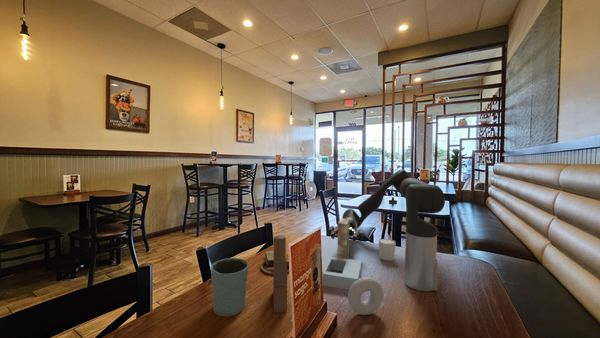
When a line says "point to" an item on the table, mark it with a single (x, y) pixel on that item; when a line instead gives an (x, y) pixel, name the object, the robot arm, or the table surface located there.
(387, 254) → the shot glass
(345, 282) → the slotted base
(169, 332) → the table surface
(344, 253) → the plank
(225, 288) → the grey-blue cup
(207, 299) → the table surface
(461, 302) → the table surface
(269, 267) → the toy sandwich meal
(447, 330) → the table surface
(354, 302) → the donut
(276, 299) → the wooden block
